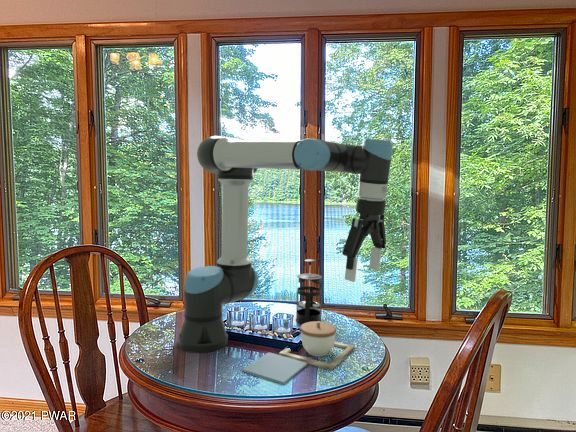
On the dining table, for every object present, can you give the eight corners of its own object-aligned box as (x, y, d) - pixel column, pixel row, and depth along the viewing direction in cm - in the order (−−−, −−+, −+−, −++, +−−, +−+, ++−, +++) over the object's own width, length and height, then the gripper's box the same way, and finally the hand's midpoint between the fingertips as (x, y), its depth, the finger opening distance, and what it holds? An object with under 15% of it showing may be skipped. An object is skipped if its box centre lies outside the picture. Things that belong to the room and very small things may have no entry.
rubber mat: (242, 371, 110) (242, 369, 110) (268, 354, 121) (268, 352, 121) (283, 384, 103) (283, 382, 103) (307, 365, 114) (307, 362, 114)
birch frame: (279, 355, 120) (279, 352, 120) (305, 336, 135) (305, 334, 135) (331, 370, 112) (331, 367, 112) (354, 348, 126) (354, 346, 126)
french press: (319, 327, 144) (321, 263, 142) (293, 325, 146) (295, 261, 144) (322, 316, 156) (324, 257, 154) (298, 314, 157) (299, 255, 155)
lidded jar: (333, 361, 117) (334, 330, 116) (296, 357, 119) (297, 326, 118) (336, 346, 127) (337, 317, 127) (302, 343, 130) (303, 314, 129)
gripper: (360, 204, 96) (351, 289, 100) (404, 197, 115) (394, 268, 119) (333, 199, 100) (325, 281, 104) (379, 193, 119) (371, 262, 123)
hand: (362, 274), depth 112 cm, fingers open, 13 cm apart
